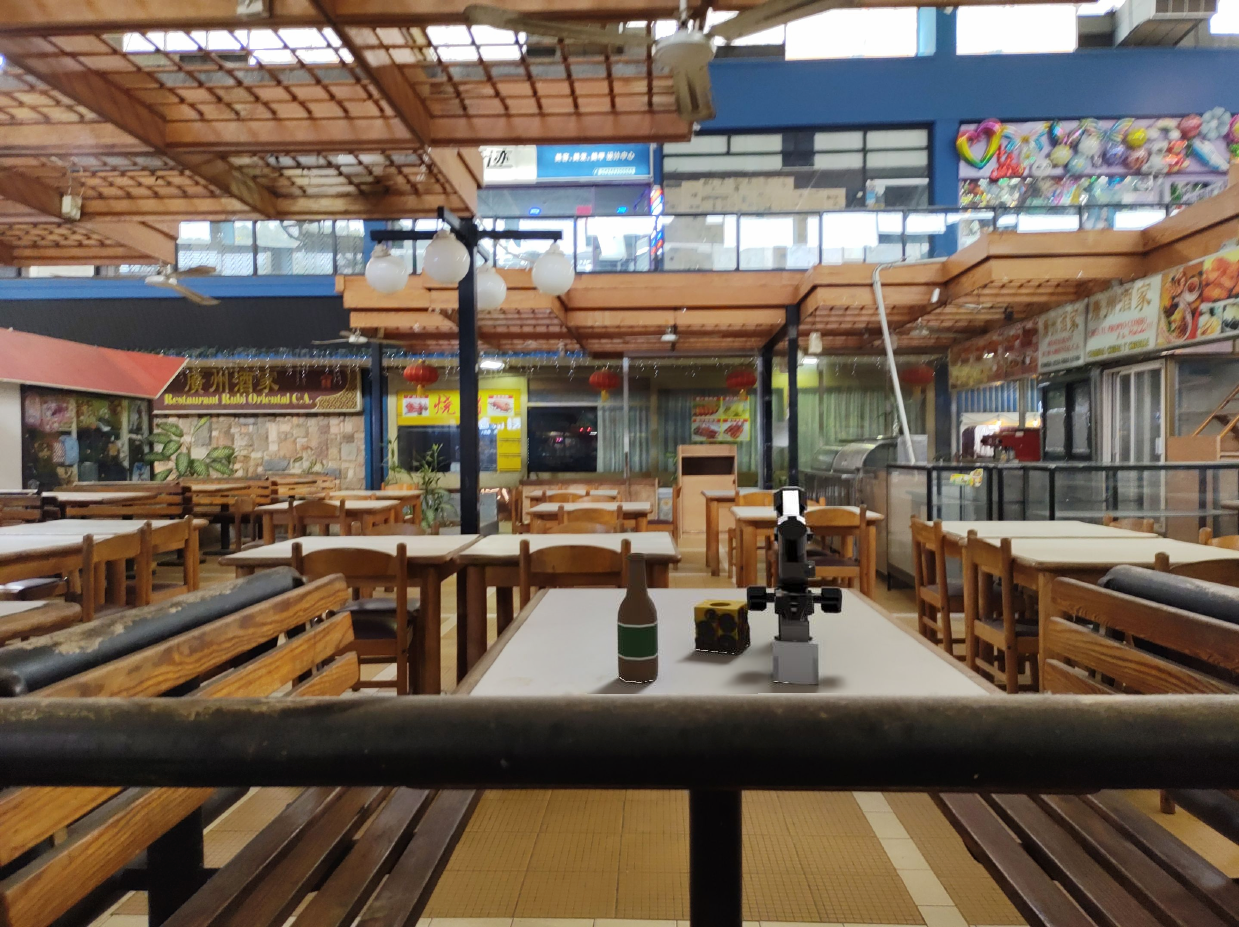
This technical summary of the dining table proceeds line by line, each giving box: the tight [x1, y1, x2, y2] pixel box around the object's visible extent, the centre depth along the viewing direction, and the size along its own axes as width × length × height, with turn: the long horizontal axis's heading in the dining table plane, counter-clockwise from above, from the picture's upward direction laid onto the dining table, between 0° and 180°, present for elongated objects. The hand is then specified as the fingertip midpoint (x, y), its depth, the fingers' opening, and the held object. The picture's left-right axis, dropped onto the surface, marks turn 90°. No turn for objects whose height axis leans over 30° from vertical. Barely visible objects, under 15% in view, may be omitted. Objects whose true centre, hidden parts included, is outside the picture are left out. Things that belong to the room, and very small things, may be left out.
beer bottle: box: [616, 552, 659, 682], centre depth 138 cm, size 8×8×24 cm
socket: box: [772, 640, 820, 685], centre depth 137 cm, size 9×8×8 cm
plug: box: [780, 620, 810, 642], centre depth 137 cm, size 6×5×10 cm
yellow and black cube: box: [693, 598, 751, 655], centre depth 160 cm, size 10×10×10 cm
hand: (794, 634), depth 140 cm, fingers closed, pressing on plug
